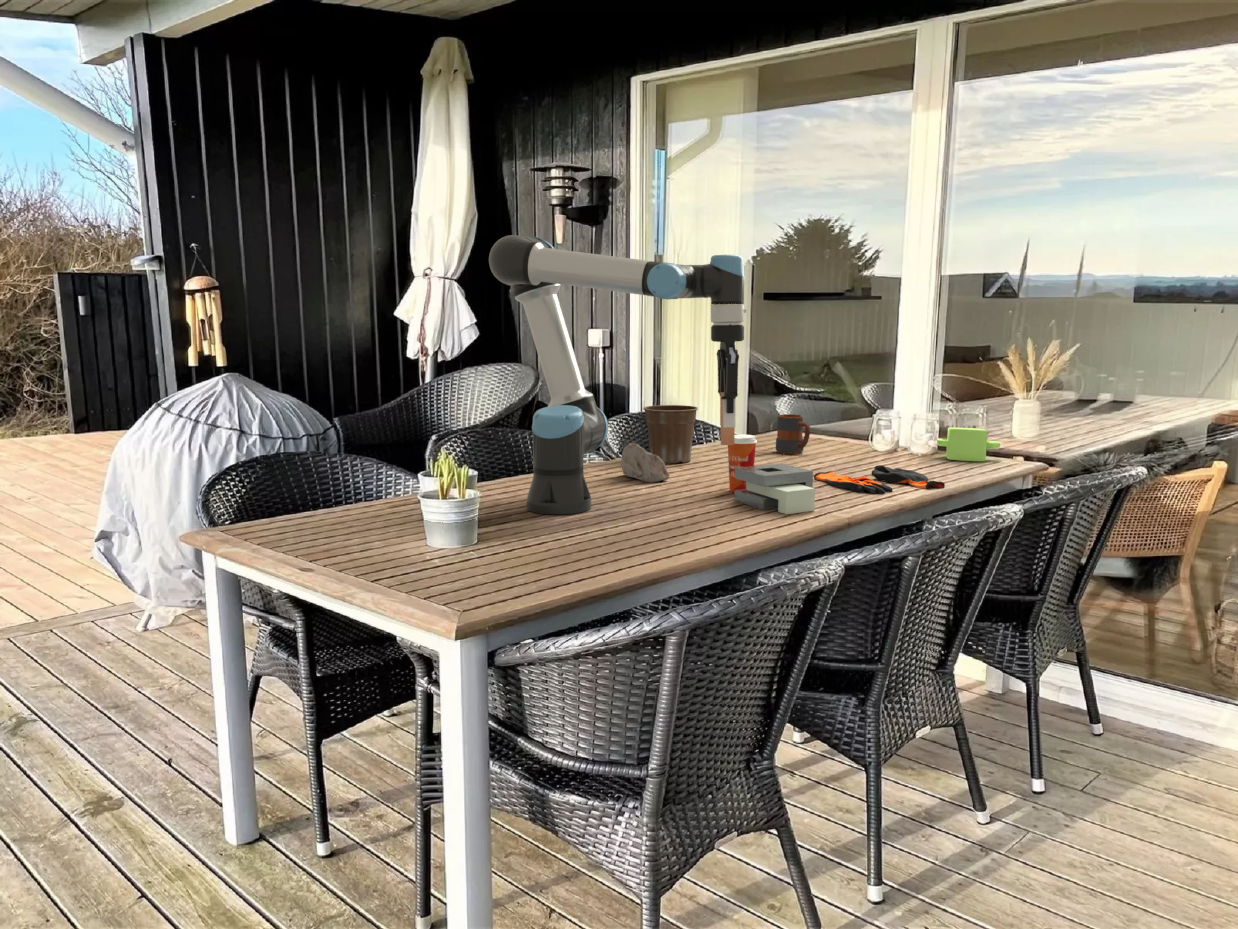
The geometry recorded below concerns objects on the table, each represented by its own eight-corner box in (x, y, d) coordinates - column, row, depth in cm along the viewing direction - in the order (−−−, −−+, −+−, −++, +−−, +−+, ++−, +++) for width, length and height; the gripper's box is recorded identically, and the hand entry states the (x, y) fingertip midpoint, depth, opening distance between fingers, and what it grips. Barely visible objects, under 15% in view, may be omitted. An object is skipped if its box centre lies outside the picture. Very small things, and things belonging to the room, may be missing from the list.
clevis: (763, 510, 228) (764, 476, 227) (734, 500, 239) (734, 467, 237) (811, 504, 234) (813, 470, 233) (781, 495, 245) (782, 463, 244)
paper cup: (719, 491, 250) (720, 436, 248) (737, 486, 256) (738, 433, 253) (744, 495, 245) (745, 439, 242) (762, 490, 250) (763, 436, 248)
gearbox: (997, 459, 300) (999, 428, 299) (1001, 463, 290) (1004, 431, 289) (935, 455, 304) (937, 425, 303) (937, 459, 295) (939, 428, 293)
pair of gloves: (865, 498, 244) (866, 484, 243) (808, 481, 266) (808, 468, 265) (951, 489, 255) (952, 476, 254) (889, 473, 277) (890, 461, 276)
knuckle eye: (786, 514, 224) (786, 491, 223) (746, 501, 238) (746, 480, 237) (814, 510, 227) (815, 488, 226) (773, 498, 241) (773, 477, 241)
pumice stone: (672, 481, 263) (672, 444, 262) (650, 485, 259) (650, 447, 257) (636, 473, 275) (636, 438, 273) (615, 476, 270) (615, 440, 269)
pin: (722, 445, 228) (722, 393, 226) (719, 443, 231) (719, 392, 229) (735, 444, 228) (735, 393, 226) (732, 442, 231) (732, 391, 229)
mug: (799, 457, 301) (800, 419, 299) (769, 452, 310) (770, 415, 308) (817, 454, 307) (818, 416, 305) (787, 449, 316) (788, 413, 314)
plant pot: (646, 455, 304) (646, 403, 302) (698, 456, 302) (699, 404, 299) (640, 464, 289) (640, 410, 286) (695, 466, 286) (696, 410, 284)
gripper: (751, 324, 217) (751, 430, 221) (736, 322, 233) (736, 421, 237) (717, 325, 217) (718, 431, 220) (705, 323, 232) (705, 422, 236)
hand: (727, 425), depth 229 cm, fingers closed on pin, 3 cm apart
